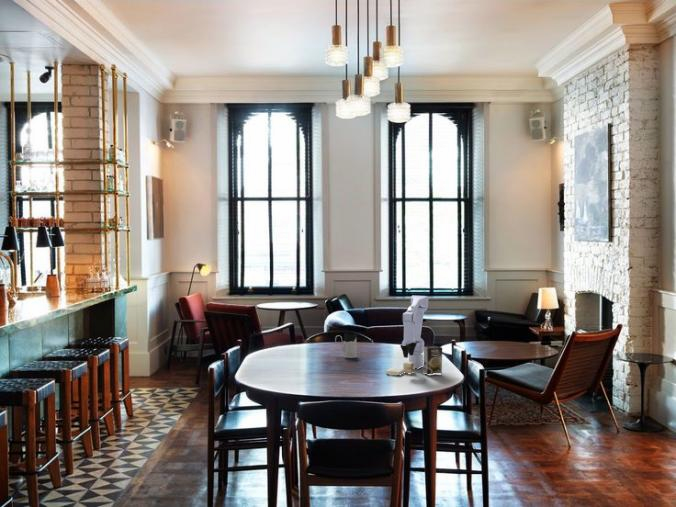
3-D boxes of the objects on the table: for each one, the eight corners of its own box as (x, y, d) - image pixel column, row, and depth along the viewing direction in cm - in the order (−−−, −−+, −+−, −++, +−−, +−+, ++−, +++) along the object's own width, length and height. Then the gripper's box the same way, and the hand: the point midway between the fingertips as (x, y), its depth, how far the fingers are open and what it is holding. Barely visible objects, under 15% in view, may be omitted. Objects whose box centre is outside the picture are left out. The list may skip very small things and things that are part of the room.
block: (406, 372, 391) (407, 361, 391) (413, 373, 388) (414, 362, 388) (403, 373, 387) (403, 363, 387) (410, 374, 385) (410, 364, 384)
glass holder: (357, 357, 430) (357, 334, 430) (334, 357, 430) (335, 334, 430) (356, 355, 439) (357, 332, 438) (335, 354, 439) (335, 332, 439)
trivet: (391, 372, 390) (391, 367, 390) (404, 373, 386) (404, 369, 386) (385, 374, 383) (385, 370, 383) (398, 376, 379) (398, 371, 379)
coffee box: (427, 376, 380) (427, 348, 379) (423, 373, 386) (423, 346, 385) (442, 375, 382) (442, 347, 382) (437, 373, 389) (438, 345, 388)
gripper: (410, 335, 378) (409, 359, 378) (420, 331, 390) (419, 354, 391) (398, 334, 381) (398, 357, 382) (409, 330, 394) (408, 353, 395)
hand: (408, 356), depth 387 cm, fingers open, 7 cm apart
